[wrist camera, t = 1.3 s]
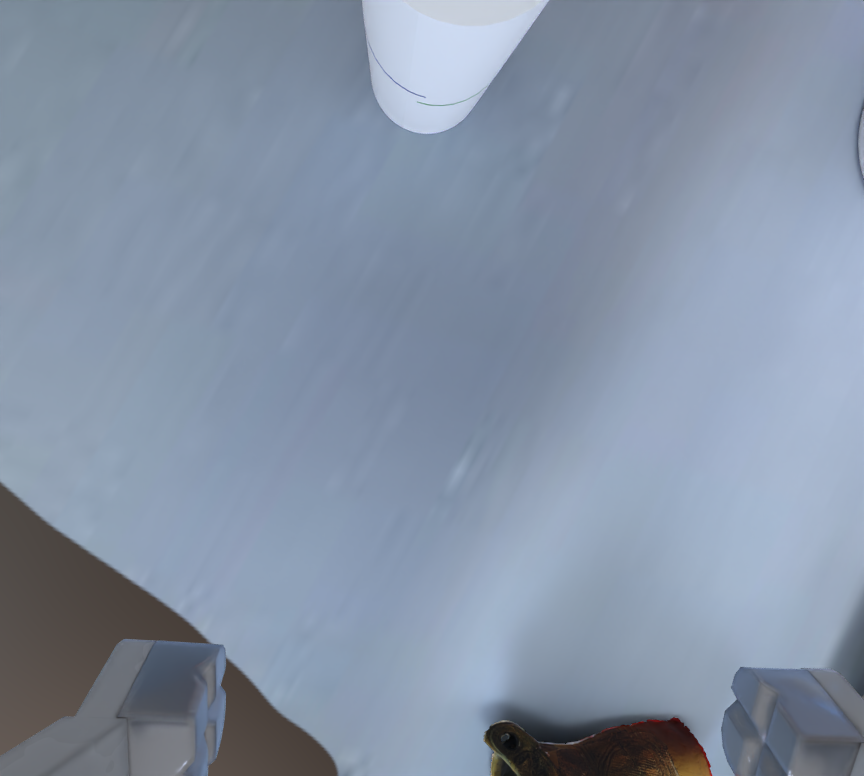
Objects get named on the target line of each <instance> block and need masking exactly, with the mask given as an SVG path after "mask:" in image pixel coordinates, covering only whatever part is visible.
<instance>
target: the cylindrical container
mask: <svg viewBox="0 0 864 776" xmlns="http://www.w3.org/2000/svg"><path fill="white" fill-rule="evenodd" d="M548 1H549V0H362V5H363V15H364V24H365V32H366V40H367V48H368V56H369V64H370V73H371V82H372V87H373V91H374V94H375V97H376V99H377V101H378V103H379V105H380V107H381V108H382V110H383V111H384V112H385V114H386V115H387V116H388V117H389V118H390V119H391V120H392V121H393V122H394V123H396V124H397V125H399V126H401V127H402V128H404V129H407V130H409V131H411V132H416V133H421V134H434V133H439V132H443V131H446V130H448V129H450V128H452V127H454V126H456V125H457V124H458V123H460V122H461V121H462V120H464V119H465V117H466V116H467V115H468V114H469V113H470V112H471V110H472V109H473V108H474V106H475V105H476V103H477V102H478V100H479V99H480V98H481V96H482V95H483V93H484V92H485V91H486V89H487V88H488V86H489V85H490V83H491V82H492V81H493V79H494V78H495V76H496V75H497V74H498V72H499V71H500V69H501V68H502V66H503V65H504V64H505V62H506V61H507V59H508V58H509V57H510V55H511V54H512V52H513V51H514V49H515V48H516V47H517V45H518V44H519V42H520V41H521V39H522V38H523V37H524V35H525V34H526V32H527V31H528V30H529V28H530V27H531V25H532V24H533V22H534V21H535V20H536V18H537V17H538V15H539V14H540V13H541V11H542V10H543V8H544V7H545V5H546V4H547V3H548Z"/></svg>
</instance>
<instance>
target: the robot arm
mask: <svg viewBox="0 0 864 776" xmlns="http://www.w3.org/2000/svg"><path fill="white" fill-rule="evenodd" d="M858 152H859V161H860V167H861V171H862V175H863V178H864V107H863V111H862V115H861V120H860V126H859V136H858ZM225 668H226V652H225V648H224V645H218V644H203V643H187V642H171V641H151V640H133V639H132V640H131V639H124V640H122V641H121V642H120V643H118V644H117V645H116V647H115V649H114V650H113V652H112V654H111V656H110V658H109V659H108V661H107V663H106V664H105V666H104V668H103V669H102V671H101V673H100V675H99V676H98V678H97V680H96V681H95V683H94V685H93V686H92V688H91V690H90V691H89V693H88V695H87V697H86V698H85V700H84V702H83V704H82V705H81V707H80V708H79V710H78V712H77V714H76V715H75V717H63V718H61V719H60V720H58V721H56V722H55V723H53V724H51V725H50V726H48V727H47V728H45V729H44V730H42V731H40V732H39V733H37V734H35V735H34V736H32V737H31V738H29V739H27V740H26V741H24V742H22V743H21V744H19V745H18V746H16V747H15V748H13V749H11V750H10V751H8V752H7V753H5V754H3V755H2V756H0V776H208V766H209V765H210V764H211V763H212V762H213V761H214V760H216V756H217V752H218V749H219V746H220V742H221V736H222V731H223V725H224V718H225V706H226V705H225V704H226V692H225V691H224V690H223V688H222V687H221V686H220V684H221V681H222V678H223V675H224V672H225ZM731 689H732V690H733V692H734V694H735V696H736V698H737V700H736V701H735V702H734V703H733V704H732V705H731V706H730V707H729V708H728V709H727V710H725V714H724V718H723V723H722V728H721V731H722V743H723V749H724V752H725V755H726V758H727V761H728V763H729V765H730V767H731V769H732V771H733V773H734V774H735V776H864V699H863V698H862V697H861V696H860V695H859V694H858V693H857V692H856V690H855V689H854V688H853V687H852V686H851V685H850V684H849V683H848V681H847V680H846V679H845V678H844V677H843V676H842V675H841V674H840V673H838V672H836V671H835V670H833V669H816V668H801V669H779V668H752V667H740V669H739V670H738V671H737V672H736V674H735V676H734V679H733V683H732V686H731Z"/></svg>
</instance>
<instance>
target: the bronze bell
mask: <svg viewBox="0 0 864 776" xmlns="http://www.w3.org/2000/svg"><path fill="white" fill-rule="evenodd" d="M505 734H507V735H508V736H509V735H510V736H509V738H508V739H507V740H505V741H503V742H502V741H501V737H503V736H504V735H505ZM483 741H484V742H486V744H487V745H488V746H489V747H490V748H491V749H492V750H493V751H494V754H492V757H493V758H492V757H491V759H492V762H491V771H490V773H491V775H490V776H712V774H711V770H710V769H709V768H710V767H711V766H710V763H709V761H708V759H707V757H706V753H705V752H704V750H703V747H702V746H701V745H700V744H699V743H698V741H697V739H696V738H695V737H694V735H693V734H692V733H691V732H690V730H689V729H688V728H687V726H685V727H684V723H682V722H681V721H680V720H679V719H678V718H675V717H673V718H671V719H670V720H667V721H663V720H662V721H660V720H647V722H643V721H642V722H638V723H632V725H621V726H615V727H611V728H606V729H604V730H602V731H601V733H600V732H599V733H598V734H593V735H591V736H589V737H585V738H584V739H580V740H579V741H577V742H568V743H567V744H562V743H561V744H555V743H543V741H541V742H539V741H538V742H537V741H536V740H535V739H534V738H533V737H532V736H530V735H529V734H528V733H526V731H525V730H524V728H522V727H521V726H519V725H518V724H516V723H514V722H512V721H511V722H510V721H509V720H507V721H505V720H502V721H499V722H498V723H497V722H495V723H494V724H492V725H491V726H490V728H489V729H488V730H487V731H485V735H484V739H483Z"/></svg>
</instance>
